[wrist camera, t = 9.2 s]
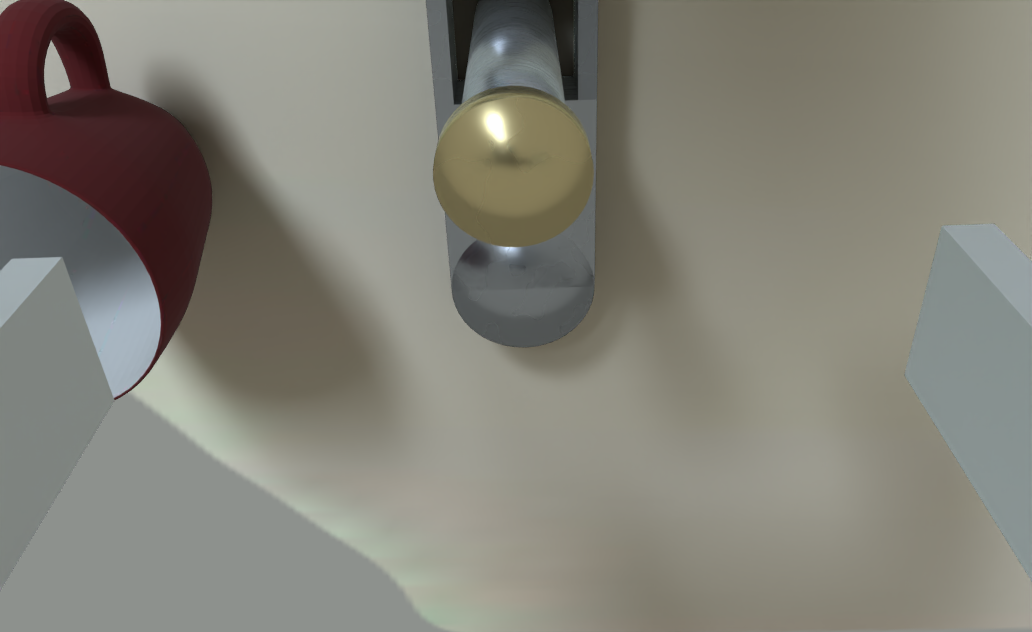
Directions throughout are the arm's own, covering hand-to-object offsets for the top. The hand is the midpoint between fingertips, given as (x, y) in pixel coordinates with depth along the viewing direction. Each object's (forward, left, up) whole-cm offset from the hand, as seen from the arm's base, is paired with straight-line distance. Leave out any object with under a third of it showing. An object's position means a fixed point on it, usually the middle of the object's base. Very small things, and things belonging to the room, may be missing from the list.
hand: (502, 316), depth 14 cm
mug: (+3, -13, -19) cm, 23 cm away
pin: (0, 0, -19) cm, 19 cm away
